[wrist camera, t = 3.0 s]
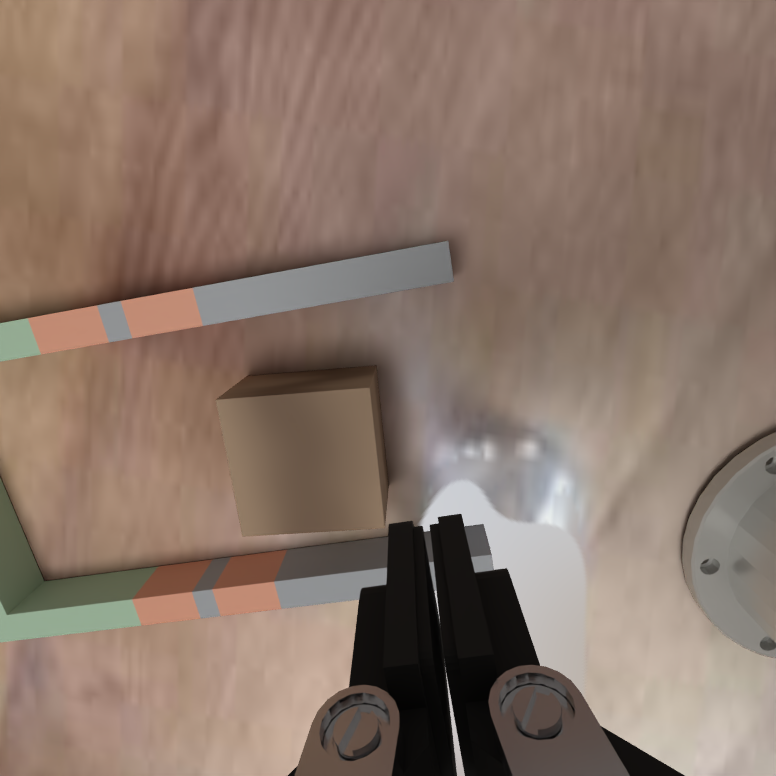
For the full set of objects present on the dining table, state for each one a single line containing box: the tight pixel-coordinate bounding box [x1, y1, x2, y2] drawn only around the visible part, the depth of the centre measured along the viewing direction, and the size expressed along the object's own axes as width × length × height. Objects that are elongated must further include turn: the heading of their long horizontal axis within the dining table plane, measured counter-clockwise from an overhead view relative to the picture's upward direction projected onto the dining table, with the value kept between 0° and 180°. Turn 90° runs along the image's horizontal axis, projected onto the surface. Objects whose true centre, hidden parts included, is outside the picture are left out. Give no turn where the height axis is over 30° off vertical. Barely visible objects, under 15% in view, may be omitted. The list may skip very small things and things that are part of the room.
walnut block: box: [216, 365, 389, 537], centre depth 21 cm, size 6×6×4 cm
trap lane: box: [0, 241, 494, 642], centre depth 22 cm, size 25×15×2 cm, turn 100°
